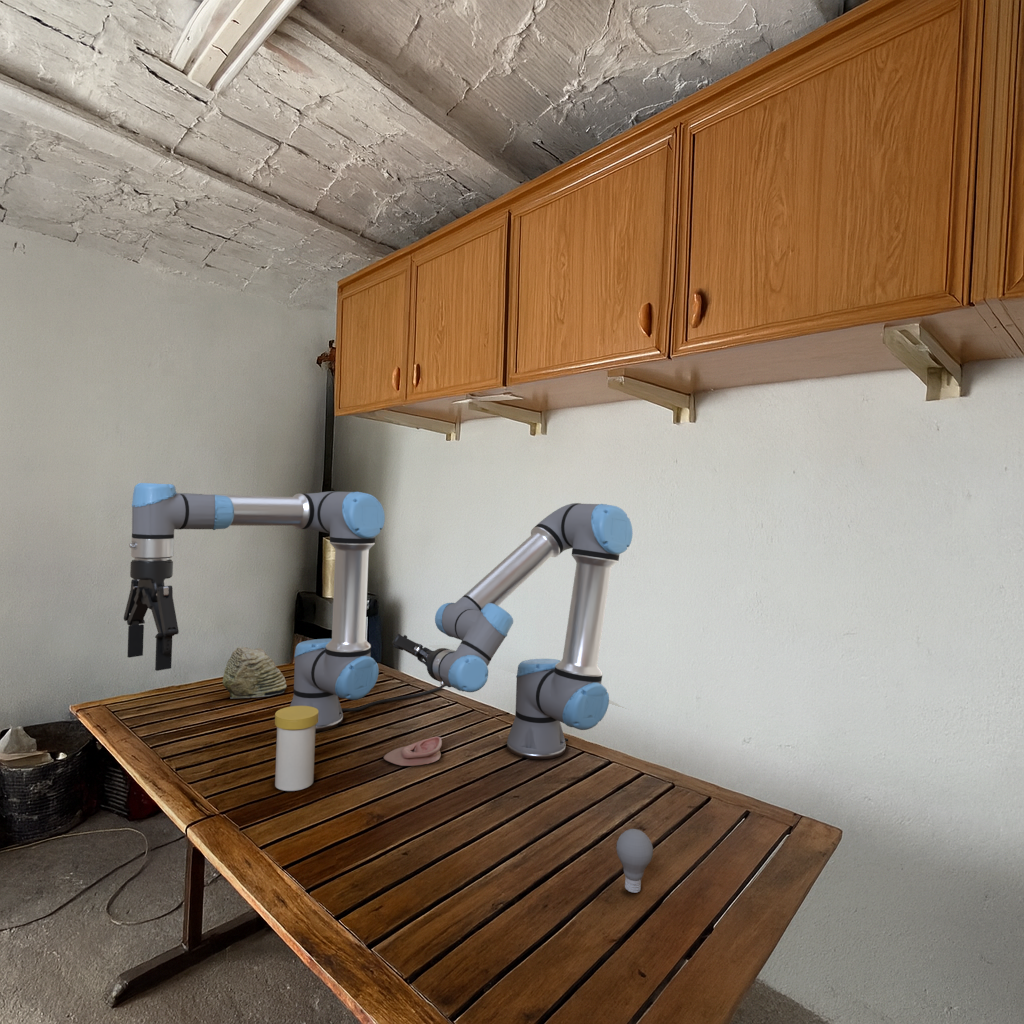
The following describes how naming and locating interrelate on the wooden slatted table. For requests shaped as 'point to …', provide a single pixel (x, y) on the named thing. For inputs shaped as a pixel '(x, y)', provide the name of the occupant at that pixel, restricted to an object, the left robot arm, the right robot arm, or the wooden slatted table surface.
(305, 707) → the lid
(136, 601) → the left robot arm
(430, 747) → the anatomical model
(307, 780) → the jar
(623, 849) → the light bulb
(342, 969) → the wooden slatted table surface
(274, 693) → the fossil
